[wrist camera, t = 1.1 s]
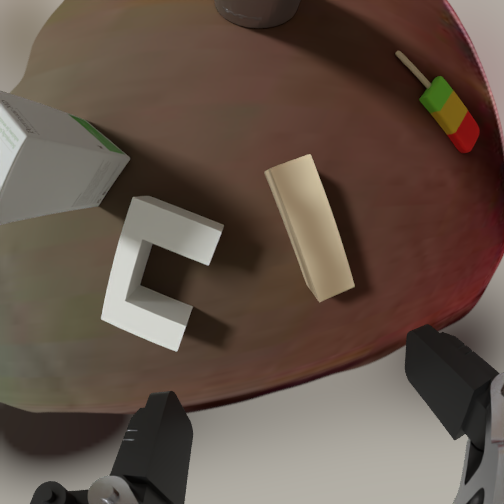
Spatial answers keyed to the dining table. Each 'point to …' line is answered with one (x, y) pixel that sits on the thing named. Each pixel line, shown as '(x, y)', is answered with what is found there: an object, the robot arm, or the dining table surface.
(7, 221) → the skincare box
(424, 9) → the dining table surface
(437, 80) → the popsicle
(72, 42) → the dining table surface
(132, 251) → the end cap
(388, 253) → the dining table surface
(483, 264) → the dining table surface
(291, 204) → the beige wooden block
